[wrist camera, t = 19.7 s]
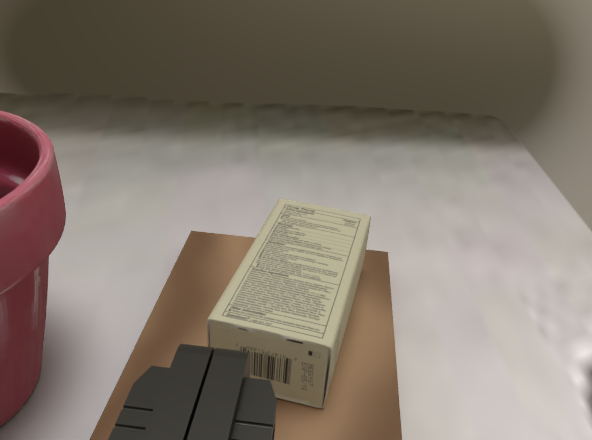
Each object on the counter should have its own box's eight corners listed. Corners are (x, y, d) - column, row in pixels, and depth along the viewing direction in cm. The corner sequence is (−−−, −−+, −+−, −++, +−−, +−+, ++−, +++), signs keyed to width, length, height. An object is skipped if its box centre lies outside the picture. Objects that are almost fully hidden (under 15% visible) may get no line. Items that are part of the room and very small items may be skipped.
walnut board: (45, 564, 22) (38, 543, 21) (192, 248, 40) (191, 231, 39) (406, 615, 21) (413, 595, 20) (384, 269, 40) (387, 252, 39)
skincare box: (323, 413, 27) (365, 272, 37) (333, 345, 24) (375, 214, 34) (202, 380, 28) (275, 252, 38) (200, 312, 26) (278, 196, 36)
